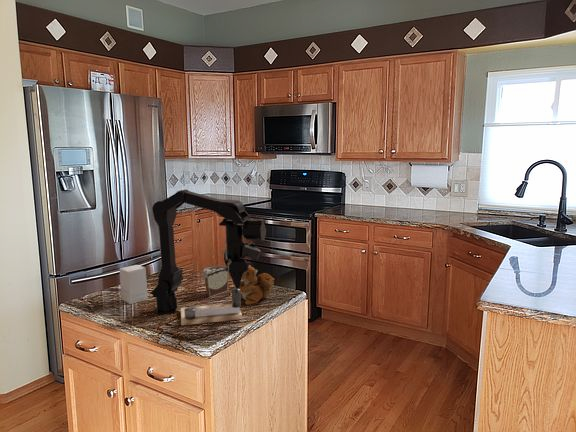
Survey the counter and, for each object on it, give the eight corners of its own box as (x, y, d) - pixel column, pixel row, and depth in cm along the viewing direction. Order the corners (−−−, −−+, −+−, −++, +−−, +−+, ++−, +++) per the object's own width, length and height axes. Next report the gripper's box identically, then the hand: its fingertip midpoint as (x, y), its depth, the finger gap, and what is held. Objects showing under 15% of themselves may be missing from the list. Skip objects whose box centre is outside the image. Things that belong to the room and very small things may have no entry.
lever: (184, 319, 146) (183, 295, 145) (184, 315, 150) (183, 292, 149) (241, 313, 151) (241, 290, 150) (240, 309, 154) (239, 287, 153)
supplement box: (148, 299, 171) (146, 267, 169) (129, 304, 166) (127, 271, 164) (139, 295, 176) (137, 264, 174) (121, 299, 171) (118, 268, 169)
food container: (220, 287, 185) (219, 263, 183) (230, 290, 181) (229, 266, 179) (196, 295, 175) (195, 270, 174) (206, 298, 171) (205, 273, 170)
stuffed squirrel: (233, 297, 172) (232, 264, 170) (267, 292, 178) (266, 260, 176) (241, 306, 163) (240, 271, 161) (277, 300, 169) (276, 266, 167)
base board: (181, 325, 146) (181, 320, 146) (180, 312, 158) (180, 307, 157) (242, 319, 151) (242, 314, 151) (237, 306, 162) (237, 302, 162)
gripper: (263, 243, 141) (264, 290, 144) (253, 232, 159) (254, 274, 162) (228, 245, 138) (229, 293, 141) (222, 233, 156) (223, 276, 159)
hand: (235, 284), depth 151 cm, fingers open, 9 cm apart
